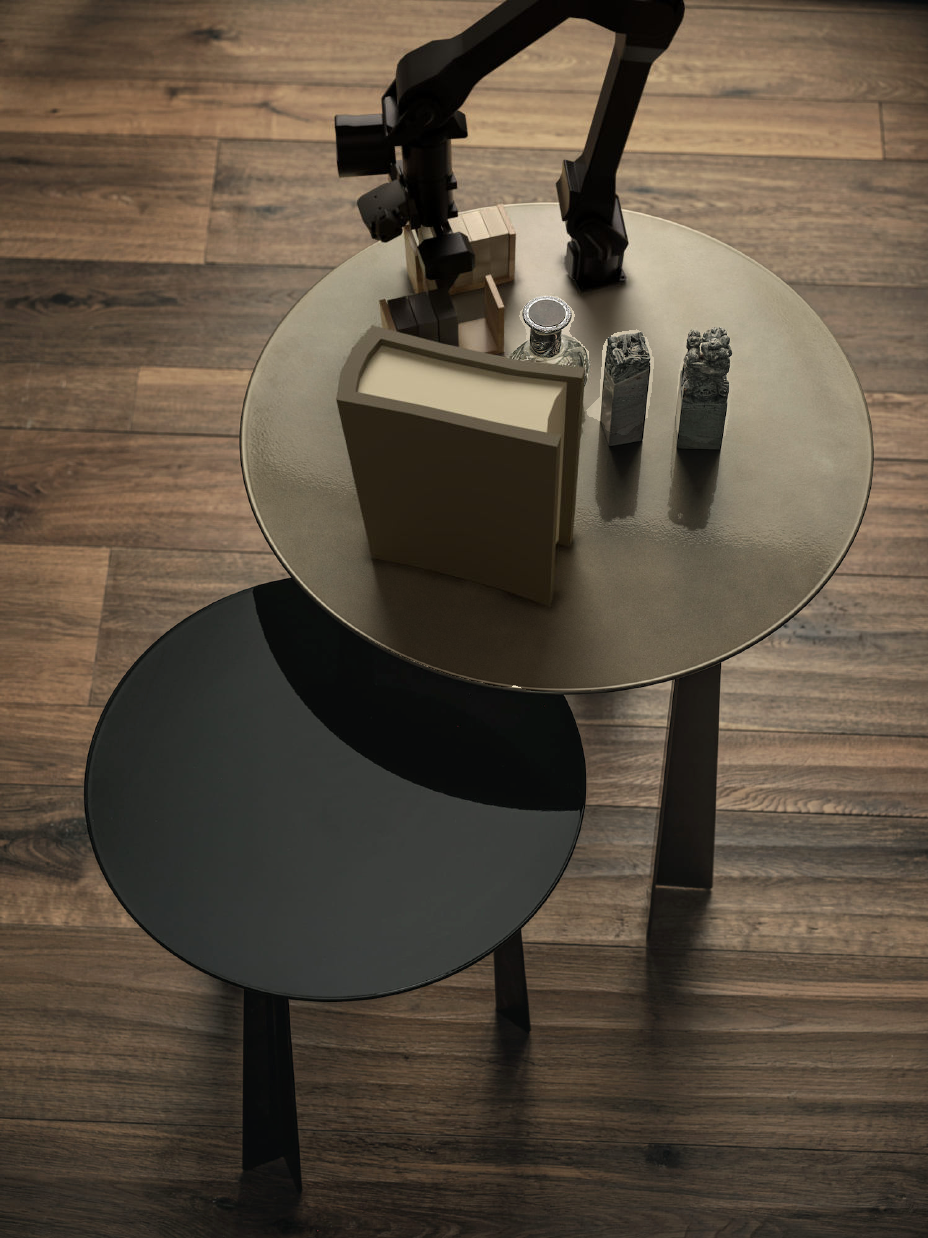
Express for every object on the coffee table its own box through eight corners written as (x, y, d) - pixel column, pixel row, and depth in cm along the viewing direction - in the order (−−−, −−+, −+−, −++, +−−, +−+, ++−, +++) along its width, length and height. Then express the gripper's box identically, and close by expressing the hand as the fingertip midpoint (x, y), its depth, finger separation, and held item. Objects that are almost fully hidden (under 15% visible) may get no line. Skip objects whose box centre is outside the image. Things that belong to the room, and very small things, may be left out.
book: (365, 558, 123) (326, 393, 99) (394, 493, 127) (363, 319, 103) (549, 606, 119) (556, 446, 94) (572, 537, 123) (585, 367, 99)
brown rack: (501, 251, 145) (502, 203, 138) (514, 280, 142) (516, 233, 135) (407, 272, 143) (403, 225, 136) (418, 302, 141) (414, 256, 134)
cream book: (437, 262, 143) (435, 220, 137) (448, 289, 141) (446, 247, 134) (420, 266, 143) (417, 224, 136) (430, 293, 140) (427, 251, 134)
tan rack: (490, 320, 139) (491, 274, 132) (504, 352, 136) (504, 306, 130) (384, 345, 137) (378, 299, 130) (395, 378, 135) (390, 333, 128)
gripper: (341, 129, 130) (355, 232, 144) (379, 235, 121) (390, 335, 135) (431, 110, 131) (436, 214, 145) (476, 214, 122) (477, 315, 136)
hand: (433, 268), depth 140 cm, fingers open, 9 cm apart
